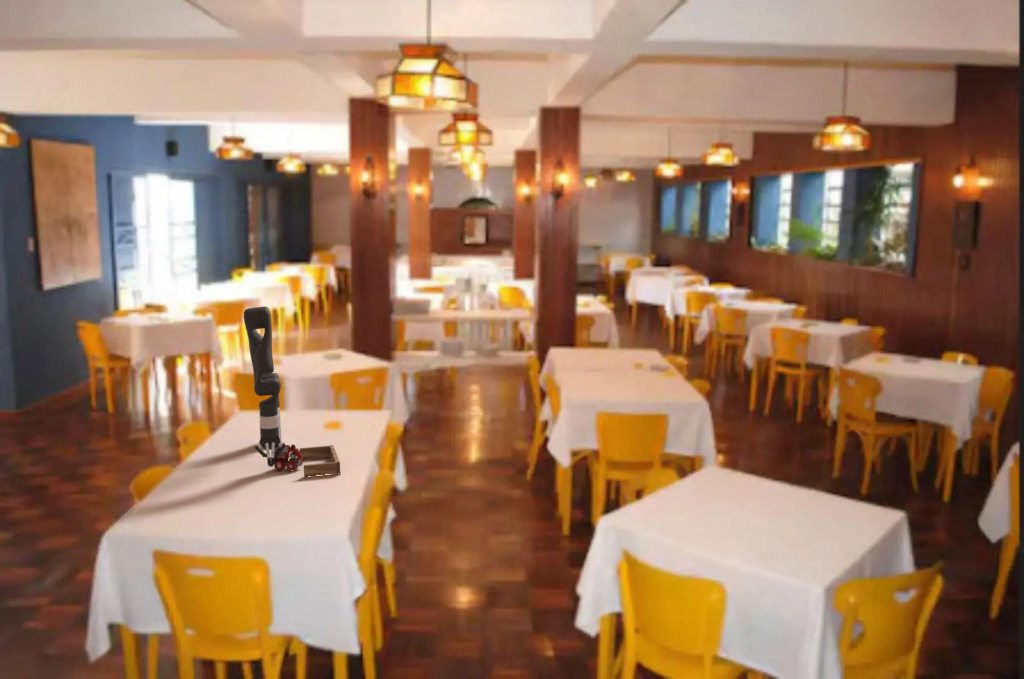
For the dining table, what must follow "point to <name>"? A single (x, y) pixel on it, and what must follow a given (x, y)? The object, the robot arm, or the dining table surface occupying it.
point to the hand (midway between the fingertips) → (271, 466)
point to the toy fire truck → (283, 458)
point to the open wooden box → (321, 467)
